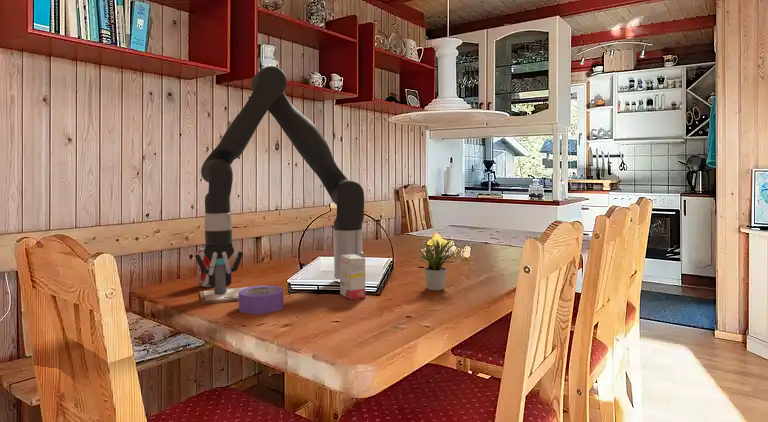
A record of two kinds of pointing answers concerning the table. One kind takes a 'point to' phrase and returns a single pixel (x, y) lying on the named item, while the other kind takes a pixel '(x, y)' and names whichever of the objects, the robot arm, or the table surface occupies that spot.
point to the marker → (220, 276)
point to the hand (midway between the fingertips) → (220, 286)
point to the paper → (220, 296)
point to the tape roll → (261, 299)
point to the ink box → (352, 276)
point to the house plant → (436, 265)
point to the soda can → (202, 277)
